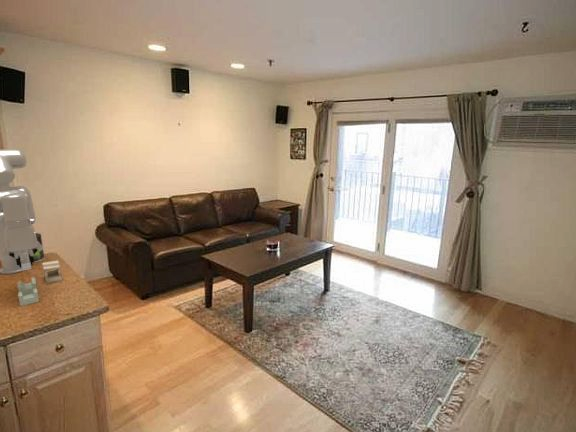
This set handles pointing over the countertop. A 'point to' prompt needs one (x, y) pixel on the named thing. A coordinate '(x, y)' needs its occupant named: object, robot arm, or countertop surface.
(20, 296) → the cradle
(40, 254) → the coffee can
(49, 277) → the block
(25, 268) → the axle
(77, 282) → the countertop surface
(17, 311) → the countertop surface
